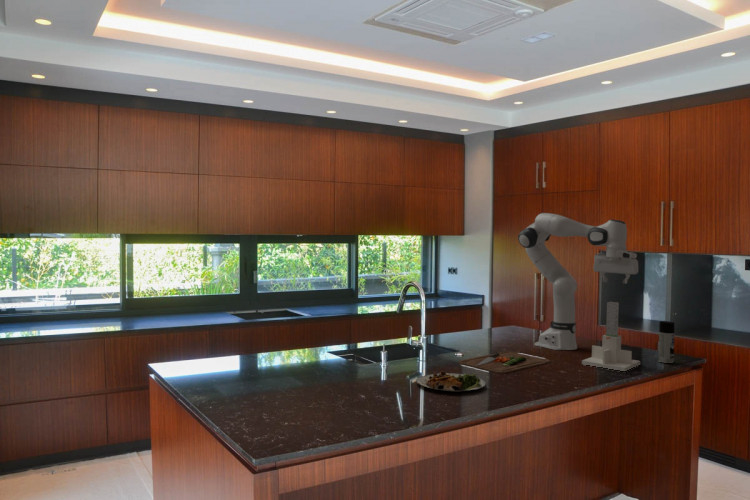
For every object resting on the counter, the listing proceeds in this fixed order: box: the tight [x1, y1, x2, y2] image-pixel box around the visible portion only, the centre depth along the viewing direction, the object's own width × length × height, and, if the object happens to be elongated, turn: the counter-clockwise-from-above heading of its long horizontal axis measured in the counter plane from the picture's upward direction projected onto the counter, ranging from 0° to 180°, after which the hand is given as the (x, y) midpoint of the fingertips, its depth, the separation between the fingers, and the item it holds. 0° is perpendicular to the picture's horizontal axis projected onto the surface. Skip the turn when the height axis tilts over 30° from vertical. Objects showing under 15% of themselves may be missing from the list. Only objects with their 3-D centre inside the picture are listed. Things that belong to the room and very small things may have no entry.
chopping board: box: [458, 351, 551, 375], centre depth 275 cm, size 45×27×3 cm, turn 130°
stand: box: [581, 334, 641, 372], centre depth 273 cm, size 20×20×14 cm
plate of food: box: [416, 371, 486, 393], centre depth 233 cm, size 28×28×6 cm
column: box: [605, 301, 620, 337], centre depth 273 cm, size 4×4×18 cm
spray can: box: [658, 320, 675, 364], centre depth 280 cm, size 7×7×20 cm
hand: (614, 282), depth 275 cm, fingers open, 8 cm apart
